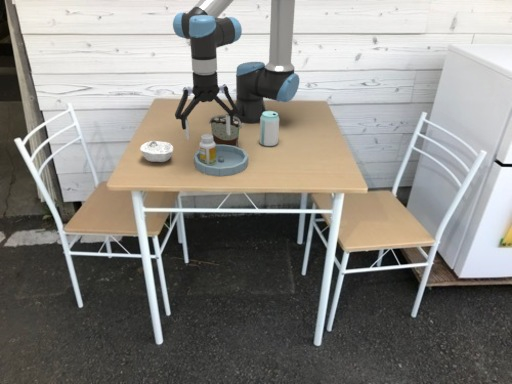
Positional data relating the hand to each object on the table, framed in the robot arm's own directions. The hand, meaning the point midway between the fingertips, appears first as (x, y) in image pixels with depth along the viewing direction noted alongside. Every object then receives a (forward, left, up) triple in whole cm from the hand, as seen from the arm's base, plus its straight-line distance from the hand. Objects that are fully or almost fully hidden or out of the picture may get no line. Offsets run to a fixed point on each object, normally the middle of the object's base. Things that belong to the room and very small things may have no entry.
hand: (208, 135), depth 135 cm
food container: (-10, -16, -11) cm, 22 cm away
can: (-25, -12, -11) cm, 30 cm away
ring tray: (-4, 0, -10) cm, 11 cm away
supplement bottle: (0, 0, -10) cm, 10 cm away
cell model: (+17, -7, -11) cm, 21 cm away
